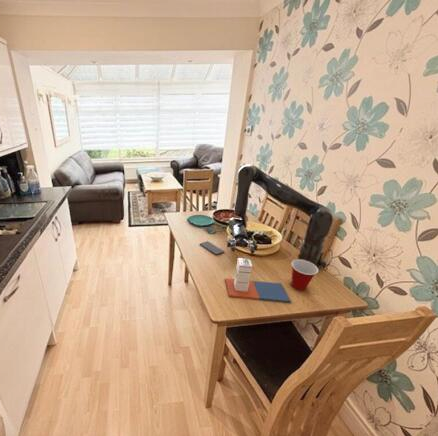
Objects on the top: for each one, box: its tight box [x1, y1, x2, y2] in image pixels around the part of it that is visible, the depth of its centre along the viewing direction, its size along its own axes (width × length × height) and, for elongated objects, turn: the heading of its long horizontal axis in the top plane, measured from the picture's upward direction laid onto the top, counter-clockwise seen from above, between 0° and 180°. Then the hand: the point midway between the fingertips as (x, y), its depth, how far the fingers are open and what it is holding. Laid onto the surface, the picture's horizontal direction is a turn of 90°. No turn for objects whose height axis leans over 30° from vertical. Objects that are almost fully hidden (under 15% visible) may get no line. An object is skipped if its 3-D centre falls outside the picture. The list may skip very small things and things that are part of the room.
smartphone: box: [199, 240, 225, 256], centre depth 147 cm, size 7×1×15 cm
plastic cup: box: [290, 258, 319, 291], centre depth 112 cm, size 11×11×12 cm
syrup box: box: [234, 257, 253, 292], centre depth 110 cm, size 6×6×14 cm
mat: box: [224, 278, 292, 304], centre depth 112 cm, size 26×12×1 cm, turn 81°
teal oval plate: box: [186, 214, 227, 234], centre depth 178 cm, size 20×30×2 cm, turn 22°
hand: (243, 251), depth 116 cm, fingers open, 8 cm apart
